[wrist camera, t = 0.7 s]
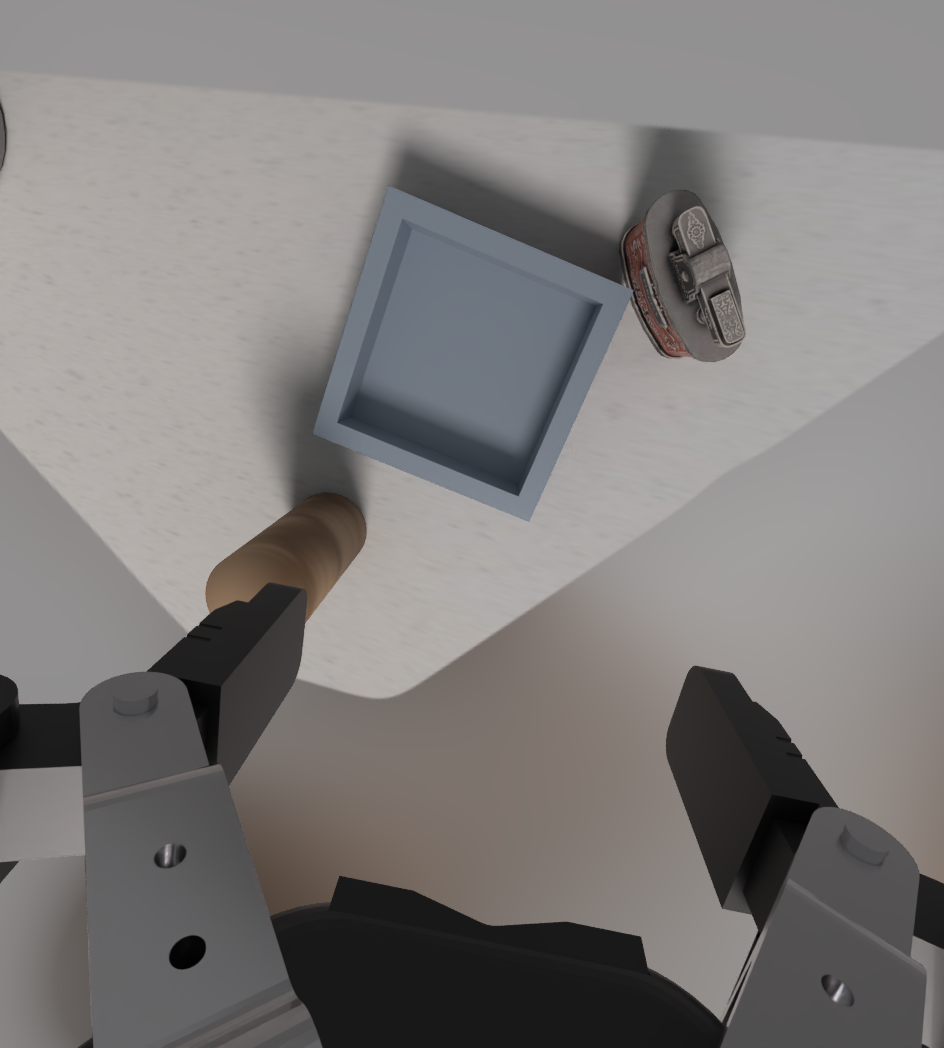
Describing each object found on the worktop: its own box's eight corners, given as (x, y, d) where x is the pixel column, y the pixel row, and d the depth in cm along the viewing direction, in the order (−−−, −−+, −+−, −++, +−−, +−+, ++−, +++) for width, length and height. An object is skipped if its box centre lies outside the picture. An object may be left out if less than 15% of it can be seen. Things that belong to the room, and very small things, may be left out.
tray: (332, 424, 38) (311, 433, 34) (402, 203, 34) (388, 185, 30) (528, 504, 39) (529, 521, 35) (620, 296, 35) (633, 290, 31)
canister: (284, 547, 41) (195, 625, 30) (305, 481, 40) (219, 537, 28) (353, 574, 41) (290, 662, 30) (376, 509, 40) (319, 576, 28)
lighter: (606, 239, 34) (641, 199, 24) (662, 210, 33) (720, 157, 24) (656, 368, 36) (706, 377, 26) (710, 343, 35) (781, 343, 26)
